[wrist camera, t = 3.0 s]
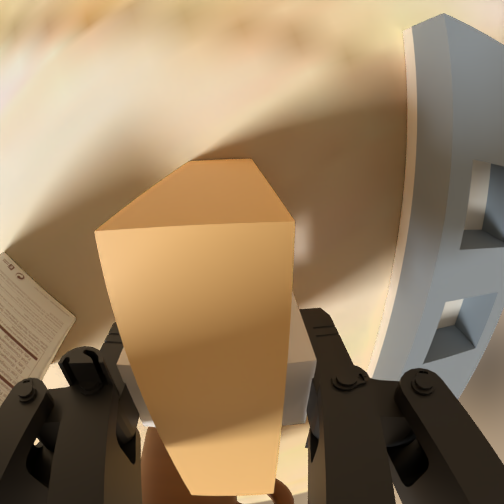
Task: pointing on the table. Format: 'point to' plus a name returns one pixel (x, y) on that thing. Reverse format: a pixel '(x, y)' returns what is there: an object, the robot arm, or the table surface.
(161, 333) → the tall wooden block
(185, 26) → the table surface
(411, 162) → the rail
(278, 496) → the mug
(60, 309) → the supplement box
